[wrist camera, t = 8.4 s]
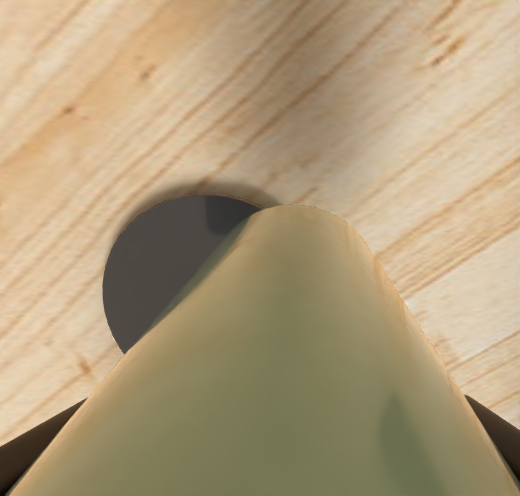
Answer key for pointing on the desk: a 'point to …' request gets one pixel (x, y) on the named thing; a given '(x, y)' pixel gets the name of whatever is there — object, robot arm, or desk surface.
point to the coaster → (163, 257)
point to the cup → (277, 385)
